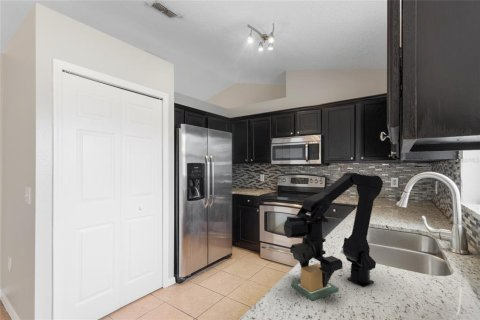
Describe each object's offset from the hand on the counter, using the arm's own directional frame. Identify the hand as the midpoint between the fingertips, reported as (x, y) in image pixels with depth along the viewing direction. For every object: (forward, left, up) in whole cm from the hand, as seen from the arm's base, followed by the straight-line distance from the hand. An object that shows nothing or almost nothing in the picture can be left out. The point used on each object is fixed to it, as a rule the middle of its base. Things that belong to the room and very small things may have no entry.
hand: (314, 280), depth 79 cm
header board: (0, 0, -3) cm, 3 cm away
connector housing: (0, 0, -2) cm, 2 cm away
